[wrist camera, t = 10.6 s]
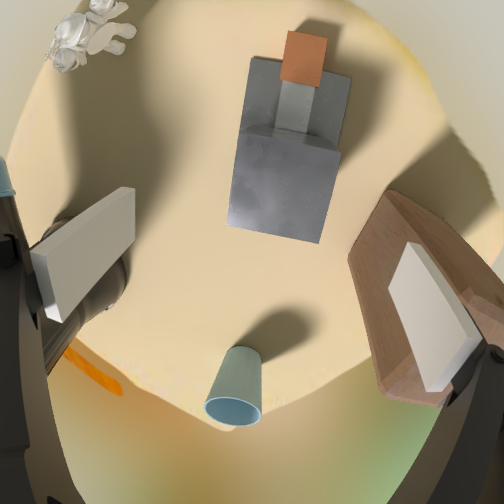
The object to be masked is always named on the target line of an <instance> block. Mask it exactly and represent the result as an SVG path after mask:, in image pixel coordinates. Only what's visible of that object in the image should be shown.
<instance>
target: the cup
mask: <svg viewBox="0 0 504 504" xmlns="http://www.w3.org/2000/svg"><path fill="white" fill-rule="evenodd" d="M204 410H205V412H206V413H207V415H208V416H210V417H211V418H212V419H214V420H216V421H218V422H220V423H223V424H226V425H231V426H249V425H252V424H255V423H257V422H258V421H259V420H260V419H261V416H262V396H261V357H260V355H259V353H258V352H257V351H255V350H254V349H252V348H249V347H246V346H236V347H233V348H231V349H229V350H228V351H227V353H226V355H225V357H224V360H223V362H222V364H221V367H220V369H219V371H218V374H217V376H216V379H215V381H214V383H213V386H212V388H211V390H210V393H209V395H208V397H207V399H206V402H205V404H204Z"/></svg>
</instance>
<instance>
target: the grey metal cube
mask: <svg viewBox="0 0 504 504" xmlns="http://www.w3.org/2000/svg"><path fill="white" fill-rule="evenodd" d="M341 155H342V153H341V152H340V150H339V149H338V148H337V147H336V146H335V145H334V144H333V143H332V142H331V141H330V140H329V139H325V138H320V137H316V136H311V135H307V134H302V133H297V132H293V131H288V130H282V129H277V128H272V127H266V126H260V125H254V124H253V125H251V126H249V127H248V128H246V129H244V130H243V131H241V132H240V133H239V140H238V147H237V153H236V160H235V167H234V174H233V181H232V188H231V195H230V202H229V210H228V217H227V225H226V226H232V227H237V228H242V229H247V230H252V231H257V232H262V233H267V234H272V235H277V236H282V237H287V238H292V239H297V240H302V241H307V242H312V243H317V244H319V240H320V237H321V233H322V229H323V226H324V222H325V218H326V215H327V211H328V207H329V203H330V200H331V196H332V192H333V188H334V184H335V180H336V176H337V172H338V168H339V164H340V160H341Z"/></svg>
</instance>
